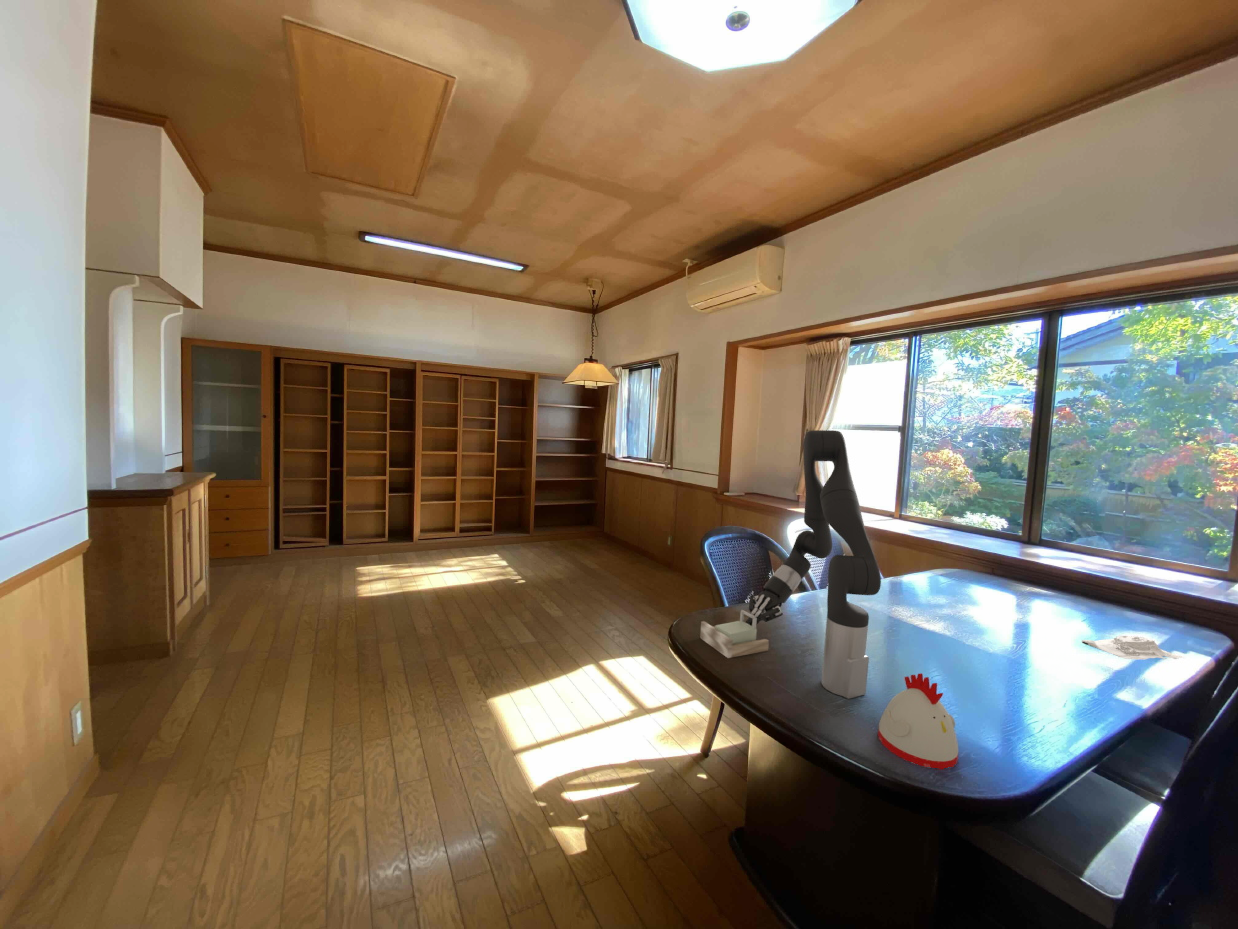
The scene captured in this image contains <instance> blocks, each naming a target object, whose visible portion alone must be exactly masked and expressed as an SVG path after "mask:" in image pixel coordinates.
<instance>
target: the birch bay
mask: <svg viewBox="0 0 1238 929" xmlns="http://www.w3.org/2000/svg"><path fill="white" fill-rule="evenodd" d="M699 635H700V636H699V638H700V639H701V640H702V641H704V642H705V643H707V644H708V645H709V646H711V647H712V648H713V649H715V651H717V652H718V653H720V654H721V655H723V656H725V658H727V659H731V658H735V657H741V656H746V655H753V654H757V653H763V652H768V651H769V645H770V644H769V642H770V640H769V639H767V638H763V639H762V638H761V639H756V641H750V642H744V643H739V644H733V645H732V642H733V640H732V639H730V638H729V637H727V636H726V635H724V634H723V633H721V632H720V631H718V630H717V629H715V625H714V626H713V625H711V624H709V623H708V622H707V621H704V620H703V621H701V622H700V634H699Z"/></svg>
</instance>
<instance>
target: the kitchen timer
mask: <svg viewBox="0 0 1238 929" xmlns="http://www.w3.org/2000/svg"><path fill="white" fill-rule="evenodd" d="M904 682H905V687H906V689H904V690H902V691H900V692H898V693H897V694H896V695H894V696H893V697H892V698H891V700H890V701H889V702H888V704H887V706H886V708H885V709H884V711H883V712H882V715H881V717H880V720H879V722H878V723H879V724H878V733H877V734H878V735H877V736H879V737H878V739H879V740H881V741H880V743H881V742H882V743H881V744H882V746H884V747H885V748H886V749H887V748H888V749H887V750H888V751H889V750H890V751H889V752H890V753H892V752H893V753H892V754H893V755H895V754H896V755H897V756H896V755H895V756H896V757H898V756H899V758H900V757H901V758H900V759H902V758H903V759H902V760H904V759H905V760H904V761H906V760H907V761H906V762H908V761H910V762H913V763H915V764H914V765H916V764H918V765H921V766H920V767H922V766H924V767H923V768H926V767H931V768H939V769H938V770H942V769H943V770H945V769H944V768H948V767H952V768H954V767H955V766H956V765H957V763H958V759H959V744H958V739H957V735H956V731H955V726H956V722H955V719H954V717H953V716H952V715H951V714H950V713H949V712H948V711H947V709H946V707H945V706H944V705H943V703H942V702H941V701H940V700H941V698H942V697H943V695H944V693H943V692H939V693H938V692H937V691H938V690H937V689H938V683H937V682H934V683H931V685H930V678H929V676H925V677H924V676H923V673H921V672H920V673H917V676H916V674H910V677H909V676H908V675H907V676H904ZM910 762H909V763H910ZM913 763H912V764H913ZM955 764H956V765H955ZM918 765H917V766H918ZM954 765H955V766H954Z"/></svg>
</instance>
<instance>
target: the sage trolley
mask: <svg viewBox="0 0 1238 929" xmlns="http://www.w3.org/2000/svg"><path fill="white" fill-rule="evenodd" d="M739 614H740V617H739V620H736V621H731V622H727V623H726V622H725V623H721V624H716V625H714V626H715V629H717V630H718V631H720V632H721V633H723V634H724V635H726V636H727V637H729V638H730V639H732V640H733V642H732V645H733V644H739V643H744V642H750V641H756V640H757V633H758V629H757V625H756V623H757V618H756V616H754V615H752V614H751V612H749V611H746V610H743V609H741V610H740V613H739ZM745 616H747V617H748V618H749V617H750V618H752V619H753V621H752V626H751V625H749V624H747V623H745V622H746V621H745Z"/></svg>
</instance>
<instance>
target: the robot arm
mask: <svg viewBox="0 0 1238 929" xmlns="http://www.w3.org/2000/svg"><path fill="white" fill-rule="evenodd" d="M802 450H803V451H802V452H803V455H802V456H803V473H804V474H803V476H804V490H805V491H804V492H805V497H804V498H805V499H804V500H805V501H804V512H803V515H804V516H803V522H804V524H805V525H806V526H807V527H808V528H810V530H807V529H806V530H804V531H802V532H800V533H799V534H798V535H797V536H796V539H795V542H794V544H793V546H792V549H791V551H790V553H789V556H788V557H787V558H786V559H785V561H784V562H783V563H782V564H781V565H780V567H778V568H777V569H776V570H775V572H774V573H773V574H772V576H771V577H770V578H769V579H768V581H766V583H765V584H764V585H763V590H762V591H761V592H759V593H758V595H755V596H754V595H753V594H750V596H749V602H748V612H749V613H750V614H752V615H754V616H756V618H757V623H756V626H758V624H759V623H760V622H765V623H767V622H770V621H773V620H774V619H777V618H780V617H782V616H784V612H782V610H781V607H782V605H783V604H785V603H786V602H787V601H788V599H789V598H790V597H791V595H792V594H793V593H794V591H795V590H796V589H797V588H798V587H799V585H800V583H801V581H802V580H803V579H804V577H805V576H806V575H807V573H808V572H809V571H810V570H811V567H812V564H811V562H810V560H809V559H807V557H806V556H805V555H806V554H809V555H810V556H813V557H815V558H816V559H822V560H823V559H826V558H827V557H829V556H830V554H831V553H832V549H833V538H832V534H831V528H832V529H833V530H834V531H835V532H836V533H837V534H838V536H840V537H841V539H842V540H843V541H844V542H845V543H846V544H847V546H848V547H849V549H850V551H851V553H852V555H844V554H836V555H835V554H834V555H833V556H832V557H831V559H830V561H829V564H828V572H827V574H828V575H827V600H826V601H827V602H826V605H827V611H826V612H827V613H826V624H825V632H824V633H825V636H824V646H823V656H822V660H823V661H822V671H821V673H822V674H821V681H820V682H821V685H822V687H823V688H825V689H826V690H827V691H829V692H831V693H832V694H834V695H838V696H840V697H844V698H845V699H850V700H851V699H853V698H858V697H861V696H863V695H864V696H865V695H866V694H867V693H866V692H867V682H868V673H869V672H868V671H869V660H870V657H869V656H868V655H866V654H867V652H866V650H867V641H868V627H869V619H870V616H869V612H868V611H867V610H865V609H864V608H863V607H861V606H859V605H857V604H854V603H852V602H850V601H848V599H847V597H848V596H847V595H856V596H857V595H858V596H875V595H877V594H878V593H879V592H880V589H881V586H882V577H881V570H880V567H879V563H878V561H877V558H876V556H875V552H874V551H873V548H872V545H871V542H870V540H869V537H868V534H867V531H866V527H865V524H864V519H863V516H862V511H861V505H860V503H859V499H858V495H857V491H856V489H855V486H854V485H855V484H854V481H853V478H852V473H851V470H850V464H849V457H848V452H847V446H846V441H845V437H844V434H843V433H842V432H841V431H839V430H831V429H830V430H829V429H828V430H826V429H825V430H823V429H822V430H814V429H813V430H808V431H807V432H806V433H805V435H804V438H803V448H802ZM816 462H832V463H833V470H832V472H831V474H830V476H829V477H828V479H827V480H826V481H825V484H824V485H823V483H822V482H821V480H820V478H819V476H818V473H817V469H816ZM811 530H812V531H811ZM752 621H753V619H752V618H750V617H748V618H747V619H746V620H745V621H744V622H745V623H747V624H749V625H751V626H752Z"/></svg>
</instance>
